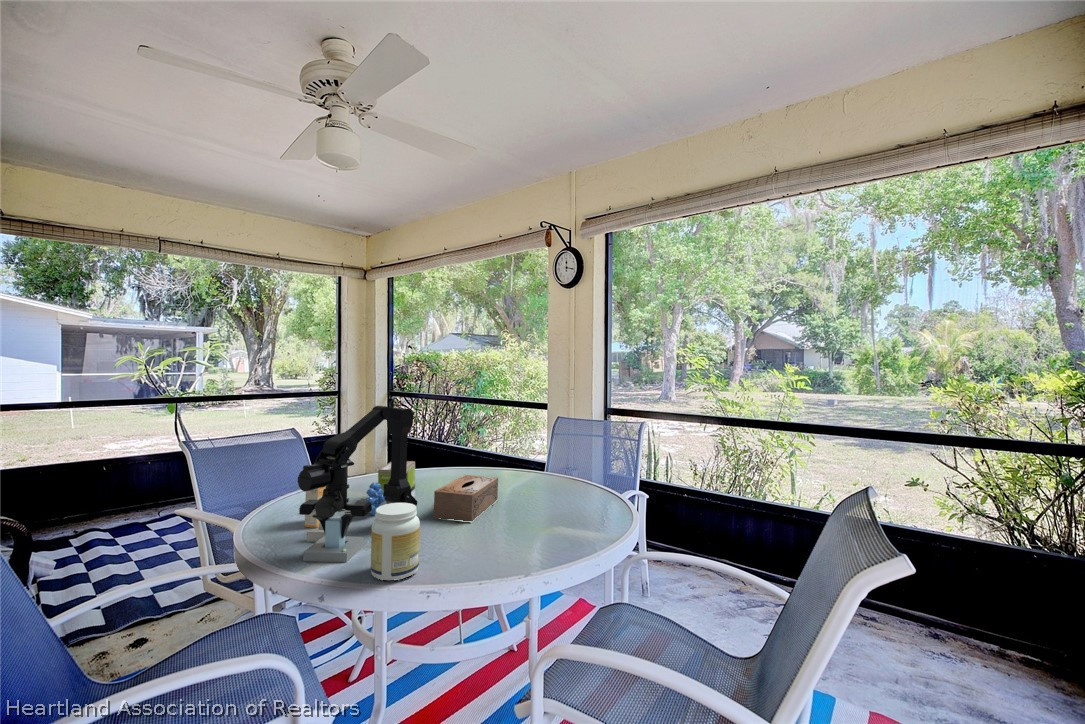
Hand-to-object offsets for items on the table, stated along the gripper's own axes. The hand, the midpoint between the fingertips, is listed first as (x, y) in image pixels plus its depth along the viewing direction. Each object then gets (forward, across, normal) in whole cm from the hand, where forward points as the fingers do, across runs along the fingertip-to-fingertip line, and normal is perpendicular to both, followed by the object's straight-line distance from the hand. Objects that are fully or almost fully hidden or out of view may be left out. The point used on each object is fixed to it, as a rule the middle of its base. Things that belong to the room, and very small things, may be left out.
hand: (335, 537), depth 135 cm
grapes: (+5, 0, +33) cm, 33 cm away
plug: (+2, 0, 0) cm, 3 cm away
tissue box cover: (+5, +31, +42) cm, 52 cm away
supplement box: (+5, -16, +23) cm, 28 cm away
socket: (+4, 0, 0) cm, 4 cm away
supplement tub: (+5, +21, -11) cm, 24 cm away
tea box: (+5, +2, +49) cm, 49 cm away
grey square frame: (+4, -8, +12) cm, 15 cm away
